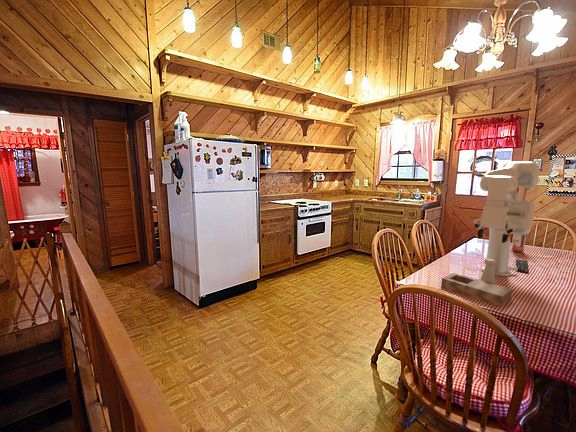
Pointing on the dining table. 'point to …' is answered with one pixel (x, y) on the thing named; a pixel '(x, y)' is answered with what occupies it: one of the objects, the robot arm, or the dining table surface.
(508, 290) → the caddy
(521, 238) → the liquor
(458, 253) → the dining table surface
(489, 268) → the salt shaker
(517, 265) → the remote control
